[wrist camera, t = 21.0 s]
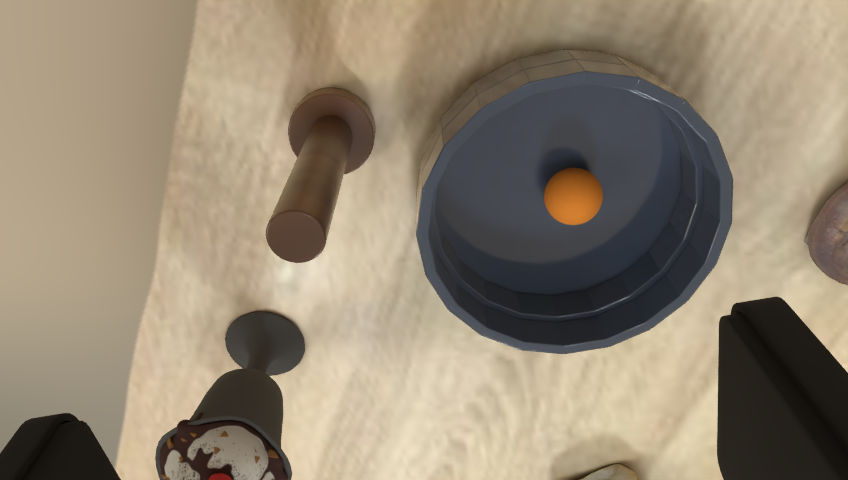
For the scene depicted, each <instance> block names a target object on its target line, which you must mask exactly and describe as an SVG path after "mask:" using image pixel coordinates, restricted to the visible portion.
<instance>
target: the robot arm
mask: <svg viewBox="0 0 848 480" xmlns="http://www.w3.org/2000/svg"><path fill="white" fill-rule="evenodd" d="M717 457H718V463H719V467H720V471H721V474H722V476H723V479H724V480H848V373H847V372H846V370H845V369H844V368H843V367H842V366H841V365H840V364H839V362H838V361H837V360H836V359H835V358H834V357H833V356H832V354H831V353H830V352H829V351H828V350H827V349H826V348H825V346H824V345H823V344H822V343H821V342H820V341H819V340H818V338H817V337H816V336H815V335H814V334H813V333H812V332H811V330H810V329H809V328H808V327H807V326H806V325H805V324H804V322H803V321H802V320H801V319H800V318H799V317H798V316H797V314H796V313H795V312H794V311H793V310H792V309H791V308H790V306H789V305H788V304H787V303H786V302H785V301H784V300H783V299H782V298H780V297H771V298H765V299H759V300H753V301H747V302H741V303H736V304H734V305H733V307H732V309H731V315H727V316H723V317H721V319H720V322H719V366H718V433H717ZM0 480H121V479H120V478H119V476H118V474H117V473H116V471H115V469H114V468H113V466H112V464H111V463H110V461H109V459H108V457H107V456H106V454H105V452H104V451H103V449H102V447H101V446H100V444H99V442H98V441H97V439H96V437H95V436H94V434H93V432H92V431H91V429H90V427H89V426H88V425H87V423H85V422H83V421H79V420H78V419H77V418H76V417H75V416H74V415H72V414H70V413H63V414H57V415H50V416H45V417H38V418H32V419H29V420H27V421H25V422H24V423H23V424H22V425H21V426H20V427H19V429H18V430H17V431H16V433H15V434H14V436H13V437H12V438H11V440H10V441H9V442H8V444H7V445H6V446H5V448H4V449H3V451H2V452H1V453H0Z"/></svg>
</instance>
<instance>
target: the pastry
mask: <svg viewBox="0 0 848 480" xmlns="http://www.w3.org/2000/svg"><path fill="white" fill-rule="evenodd" d="M579 480H639V479H638V475H637V474H636V473H635V472H634V471H632V470H630V469H628V468H627V467H625V466H623V465H620V464H614V465H611V466H608V467H605V468H603V469H600V470H598V471H595V472H593V473H591V474H589V475H588V476H586V477H584V478H582V479H579Z"/></svg>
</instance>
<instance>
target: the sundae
mask: <svg viewBox="0 0 848 480" xmlns="http://www.w3.org/2000/svg"><path fill="white" fill-rule="evenodd" d="M225 340H226V347H227V351H228V352H229V354H230V356H231V357H232V359H233V360H234V361H235V362H236V363H237V364H238V365H239V366H241V367H242V368H243V369H236V370H233V371H230V372H227V373H225V374H224V375H222V376H221V377H220V378H218V379H217V381H216V382H215V383H214V384H213V386H212V387H211V388H210V389H209V391H208V392H207V393H206V395H205V396H204V398H203V400H202V401H201V403H200V405H199V406H198V408H197V409H196V411H195V413H194V414H193V416H192V417H191V418H190V420H182V421H180V422H179V423H178V425H177V427H176V428H174V429H172V430H171V431H169V432H168V433H166V434H165V435H164V436H162V438H161V439H160V441H159V443H158V446H157V449H156V458H155V459H156V468H157V471H158V475H159V478H160V480H291V477H292V470H291V466H290V463H289V461H288V458H287V457H286V455H285V454H284V452H283V451H282V449H281V433H282V422H283V398H282V393H281V390H280V388H279V386H278V385H277V383H276V382H275V381H274V380H273V379H272V378H271V377H269V376H271V375H278V374H282V373H285V372H288V371H290V370H291V369H293V368H294V367H295V366H296V365H297V364H298V363H299V362H300V361H301V359H302V357H303V354H304V351H305V344H304V339H303V337H302V335H301V333H300V331H299V330H298V328H297V327H296V326H295V325H294V324H293V323H291V322H290V321H289V320H287V319H286V318H284V317H282V316H279V315H276V314H273V313H269V312H253V313H249V314H246V315H243V316H241V317H239V318H238V319H236V320H235V321H234V322H233V323H232V324H231V325H230V326H229V328H228V331H227V334H226V338H225Z"/></svg>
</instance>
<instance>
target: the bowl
mask: <svg viewBox="0 0 848 480" xmlns="http://www.w3.org/2000/svg"><path fill="white" fill-rule="evenodd" d="M567 168H581V169H584V170H587V171H589V172H590V173H592V174H593V175H594V176H595V177H596V178H597V179H598V181H599V183H600V185H601V187H602V191H603V200H602V204H601V207H600V209H599V211H598V213H597V214H596V215H595V216H594V217H593V218H592V219H591V220H589V221H587V222H585V223H583V224H579V225H567V224H564V223H561V222H559V221H557V220H556V219H554V218H553V217H552V216H551V215H550V213H549V212H548V210H547V208H546V205H545V201H544V193H545V188H546V185H547V183H548V182H549V180H550V179H551V178H552V177H553V176H554V175H555V174H556V173H557V172H559V171H561V170H564V169H567ZM732 198H733V178H732V173H731V171H730V168H729V165H728V162H727V160H726V157H725V154H724V152H723V149H722V146H721V143H720V141H719V138H718V136H717V134H716V133H715V132H714V130H713V129H712V128H711V127H710V126H709V125H708V124H707V123H706V122H705V121H704V120H703V118H702V117H701V116H700V115H699V114H698V113H697V112H696V111H695V110H694V109H693V107H692V106H691V105H690V104H689V103H688V102H687V101H686V100H685V99H684V98H682V97H681V96H680V95H679V94H677V93H676V92H675V91H674V90H673V89H671V88H670V87H669V86H668V85H666V84H665V83H664V82H663V81H661V80H660V79H659V78H658V77H657V76H655V75H654V74H652V73H650V72H648V71H646V70H644V69H642V68H640V67H638V66H636V65H634V64H632V63H630V62H628V61H626V60H624V59H622V58H620V57H618V56H616V55H612V54H604V53H595V52H587V51H579V50H570V49H567V50H565V49H563V50H559V51H554V52H549V53H544V54H539V55H534V56H529V57H524V58H519V59H518V60H517V59H516V60H514V61H512V62H510V63H508V64H507V65H505V66H503V67H501V68H499V69H497V70H496V71H494V72H492V73H490V74H488V75H487V76H485V77H483V78H481V79H479V80H477V81H476V82H474V84H472V85H471V86H470V87H469V88H468V89H467V90H466V91H465V92H464V93H463V94H462V95H461V97H460V98H459V99H458V100H457V101H456V102H455V103H454V104H453V105H452V106H451V107H450V108H449V109H448V110H447V111H446V112H445V113H444V114H443V115H442V117H441V118H440V120H439V122H438V124H437V126H436V128H435V130H434V132H433V134H432V136H431V138H430V140H429V142H428V144H427V146H426V148H425V150H424V152H423V155H422V158H421V164H420V172H419V180H418V189H417V198H416V237H417V241H418V245H419V250H420V254H421V258H422V262H423V267H424V271H425V275H426V277H427V278H428V280H429V282H430V283H431V285H432V286H433V288H434V289H435V291H436V292H437V294H438V295H439V297H440V298H441V300H442V301H443V303H444V304H445V306H446V307H447V309H448V310H449V311H450V312H451V313H453V314H454V315H455V316H457V317H458V318H459V319H461V320H462V321H463V322H464V323H466V324H467V325H468V326H470V327H471V328H472V329H473V330H475V331H476V332H477V333H479V334H480V335H482V336H484V337H487V338H489V339H492V340H495V341H497V342H500V343H503V344H505V345H508V346H511V347H513V348H516V349H518V350H523V351H534V352H545V353H556V354H568V353H575V352H581V351H587V350H593V349H600V348H606V347H610V346H613V345H615V344H617V343H620V342H622V341H624V340H627V339H629V338H632V337H634V336H636V335H639V334H641V333H643V332H646V331H648V330H650V329H651V328H653V327H654V326H656V325H657V324H658V323H660V322H661V321H662V320H664V319H665V318H666V317H668V316H669V315H670V314H672V313H673V312H674V311H676V310H677V309H678V308H679V307H681V306H682V305H683V304H685V303H686V302H687V301H688V300H689V299H690V298H691V296H692V295H693V294H694V293H695V291H696V290H697V289H698V287H699V286H700V285H701V283H702V282H703V281H704V280H705V278H706V277H707V276H708V274H709V273H710V272H711V271H712V269H713V268H714V267H715V265H716V264H717V261H718V258H719V256H720V253H721V250H722V248H723V245H724V242H725V240H726V237H727V234H728V232H729V229H730V227H731V224H732V223H731V222H732Z"/></svg>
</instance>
